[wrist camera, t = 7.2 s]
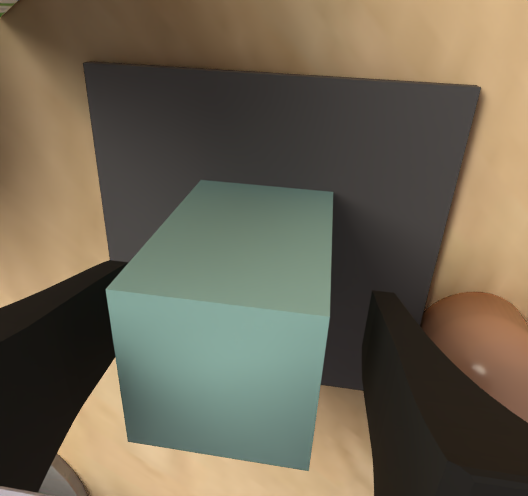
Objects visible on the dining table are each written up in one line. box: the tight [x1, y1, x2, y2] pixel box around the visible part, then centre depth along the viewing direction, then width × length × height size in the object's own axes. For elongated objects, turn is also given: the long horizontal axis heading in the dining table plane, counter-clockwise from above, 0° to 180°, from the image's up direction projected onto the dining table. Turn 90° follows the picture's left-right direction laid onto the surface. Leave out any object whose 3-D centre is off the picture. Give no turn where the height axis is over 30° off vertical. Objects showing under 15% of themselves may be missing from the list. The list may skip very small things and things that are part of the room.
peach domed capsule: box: [420, 292, 528, 423], centre depth 15 cm, size 4×4×4 cm
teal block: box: [106, 180, 333, 471], centre depth 13 cm, size 4×4×7 cm
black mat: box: [83, 62, 481, 391], centre depth 16 cm, size 12×12×1 cm
